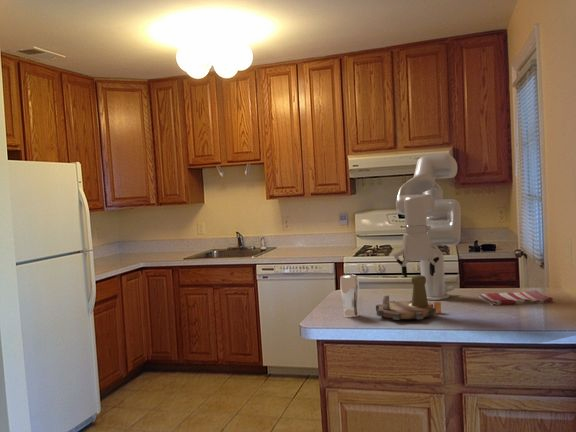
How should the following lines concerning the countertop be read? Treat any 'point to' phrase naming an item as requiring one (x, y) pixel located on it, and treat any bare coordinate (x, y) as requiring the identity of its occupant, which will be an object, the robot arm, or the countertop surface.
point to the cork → (419, 291)
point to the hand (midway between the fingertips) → (418, 275)
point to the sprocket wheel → (403, 309)
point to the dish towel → (515, 298)
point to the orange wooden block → (436, 305)
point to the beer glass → (350, 295)
